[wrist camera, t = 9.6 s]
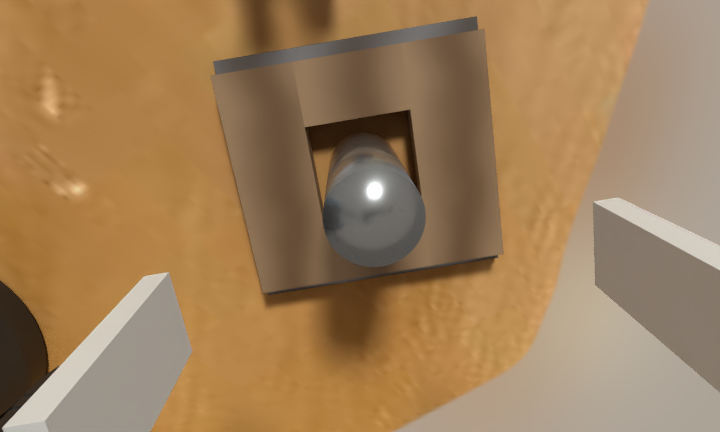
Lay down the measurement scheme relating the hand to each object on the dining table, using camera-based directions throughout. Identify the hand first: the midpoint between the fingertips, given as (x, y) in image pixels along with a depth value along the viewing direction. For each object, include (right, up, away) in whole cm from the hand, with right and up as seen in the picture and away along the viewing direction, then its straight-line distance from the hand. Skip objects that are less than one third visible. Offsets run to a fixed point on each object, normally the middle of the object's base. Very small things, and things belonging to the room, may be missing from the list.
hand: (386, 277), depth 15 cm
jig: (0, +5, +18) cm, 18 cm away
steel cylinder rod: (-1, +5, +18) cm, 18 cm away
